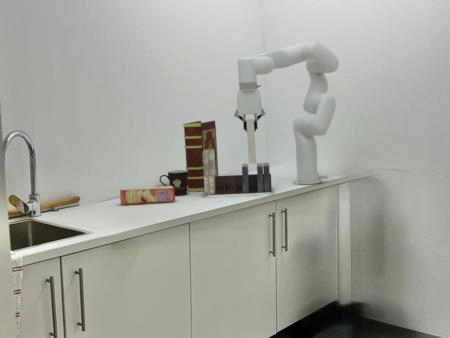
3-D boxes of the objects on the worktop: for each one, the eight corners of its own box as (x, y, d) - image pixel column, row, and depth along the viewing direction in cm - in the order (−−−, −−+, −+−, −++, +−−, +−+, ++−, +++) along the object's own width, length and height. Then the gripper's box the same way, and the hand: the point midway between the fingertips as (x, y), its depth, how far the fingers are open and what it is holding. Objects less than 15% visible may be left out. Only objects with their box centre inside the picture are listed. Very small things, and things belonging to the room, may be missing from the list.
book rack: (271, 189, 272) (269, 146, 270) (272, 194, 258) (270, 149, 256) (207, 192, 270) (204, 148, 268) (204, 197, 256) (202, 152, 254)
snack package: (175, 199, 254) (174, 183, 253) (174, 202, 247) (173, 185, 247) (122, 203, 251) (120, 186, 250) (119, 206, 244) (118, 189, 243)
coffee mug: (193, 193, 269) (192, 170, 268) (181, 196, 261) (180, 173, 260) (171, 192, 274) (170, 169, 272) (159, 195, 266) (157, 172, 265)
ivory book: (256, 160, 268) (253, 118, 266) (256, 163, 257) (253, 120, 255) (249, 161, 268) (246, 119, 266) (248, 163, 257) (246, 120, 255)
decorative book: (202, 191, 272) (198, 123, 268) (185, 191, 274) (181, 123, 270) (219, 183, 294) (215, 120, 290) (203, 183, 296) (199, 120, 292)
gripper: (267, 86, 263) (270, 129, 265) (228, 88, 262) (231, 131, 264) (268, 86, 255) (270, 130, 258) (228, 88, 254) (230, 132, 257)
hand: (250, 130), depth 261 cm, fingers closed on ivory book, 3 cm apart
